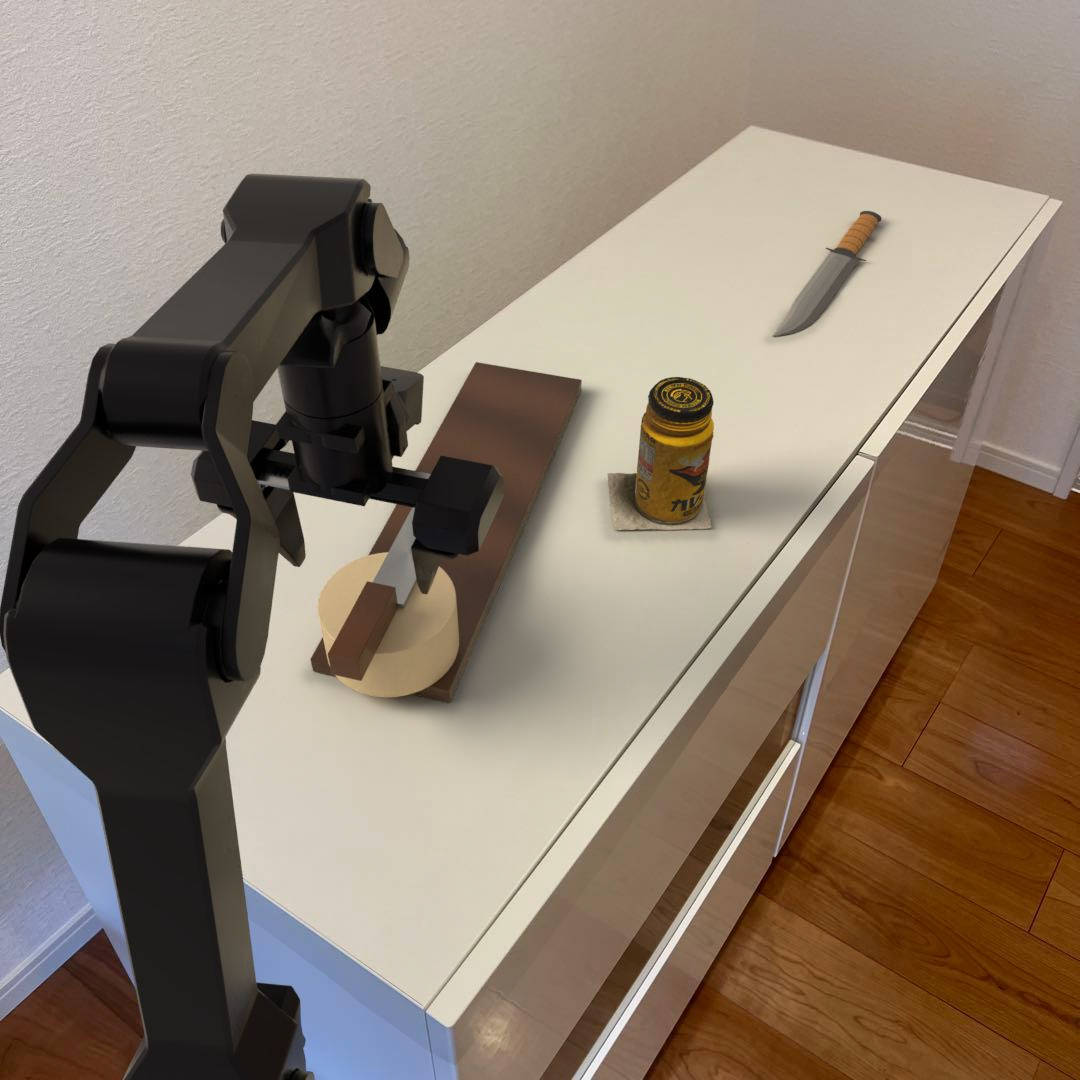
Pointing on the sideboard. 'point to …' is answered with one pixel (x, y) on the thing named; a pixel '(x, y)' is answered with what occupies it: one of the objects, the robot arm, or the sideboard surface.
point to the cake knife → (375, 608)
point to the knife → (828, 276)
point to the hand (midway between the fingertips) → (362, 575)
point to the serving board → (523, 460)
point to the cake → (396, 630)
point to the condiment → (668, 461)
